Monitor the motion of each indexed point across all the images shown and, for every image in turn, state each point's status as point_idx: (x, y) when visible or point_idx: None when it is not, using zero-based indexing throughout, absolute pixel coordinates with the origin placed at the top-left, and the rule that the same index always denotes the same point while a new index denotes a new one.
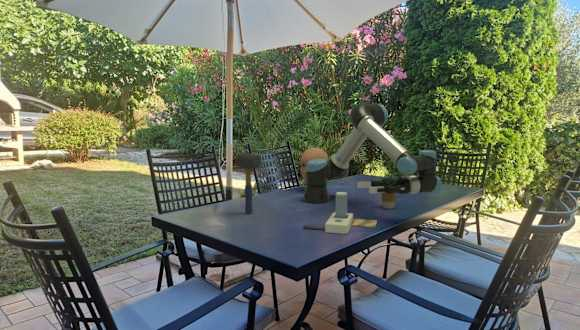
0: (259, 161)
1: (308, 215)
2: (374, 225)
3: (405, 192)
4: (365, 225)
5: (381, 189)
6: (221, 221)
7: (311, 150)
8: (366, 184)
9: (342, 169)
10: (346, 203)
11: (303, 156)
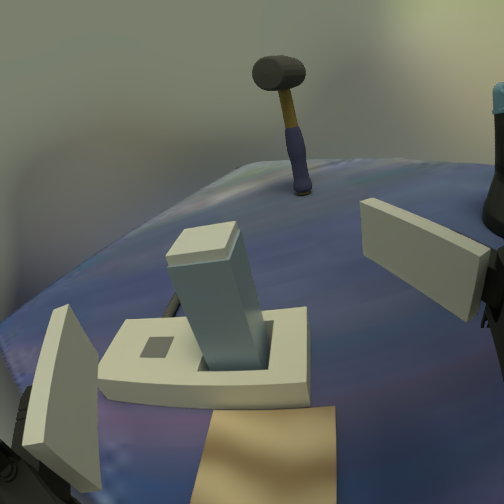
0: (275, 72)
1: (338, 261)
2: None
3: None
4: (203, 468)
5: (22, 422)
6: (233, 195)
7: None
8: (427, 260)
9: None
10: (208, 308)
11: None
